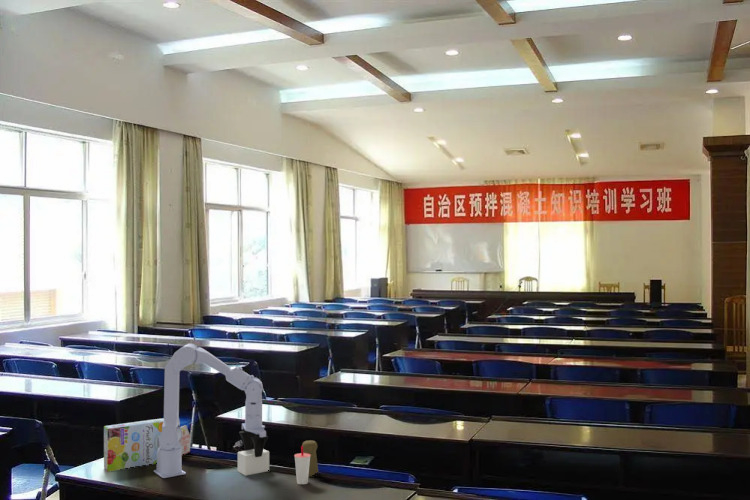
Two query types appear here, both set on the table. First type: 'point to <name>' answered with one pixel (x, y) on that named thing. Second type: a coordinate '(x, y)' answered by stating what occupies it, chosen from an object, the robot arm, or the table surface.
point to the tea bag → (185, 440)
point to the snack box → (131, 444)
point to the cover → (252, 462)
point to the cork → (311, 449)
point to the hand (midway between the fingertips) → (253, 454)
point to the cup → (302, 466)
